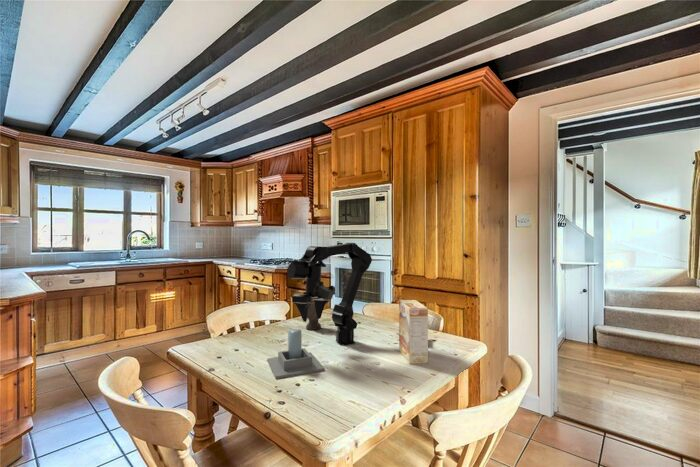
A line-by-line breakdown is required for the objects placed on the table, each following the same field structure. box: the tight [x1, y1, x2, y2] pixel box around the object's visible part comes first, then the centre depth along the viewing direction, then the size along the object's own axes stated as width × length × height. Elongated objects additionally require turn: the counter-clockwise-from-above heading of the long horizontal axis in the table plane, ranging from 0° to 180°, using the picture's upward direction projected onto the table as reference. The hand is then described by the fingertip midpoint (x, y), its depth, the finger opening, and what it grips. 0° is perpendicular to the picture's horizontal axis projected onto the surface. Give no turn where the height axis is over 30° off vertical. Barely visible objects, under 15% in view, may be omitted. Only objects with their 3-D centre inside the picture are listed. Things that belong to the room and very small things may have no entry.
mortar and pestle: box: [305, 299, 322, 331], centre depth 155 cm, size 12×9×20 cm
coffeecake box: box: [398, 299, 429, 365], centre depth 120 cm, size 15×7×20 cm, turn 5°
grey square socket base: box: [266, 347, 325, 380], centre depth 110 cm, size 16×16×4 cm
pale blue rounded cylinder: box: [287, 328, 303, 360], centre depth 111 cm, size 4×4×11 cm
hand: (312, 320), depth 123 cm, fingers open, 9 cm apart
